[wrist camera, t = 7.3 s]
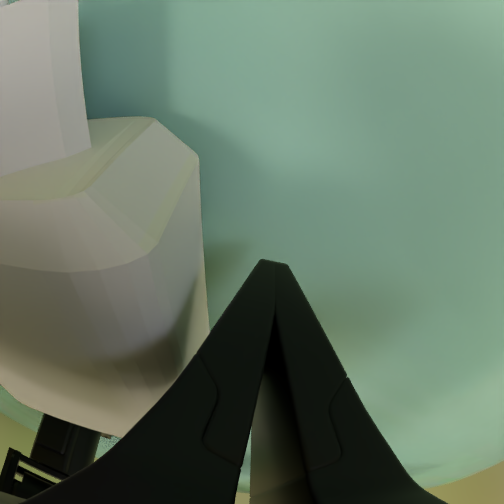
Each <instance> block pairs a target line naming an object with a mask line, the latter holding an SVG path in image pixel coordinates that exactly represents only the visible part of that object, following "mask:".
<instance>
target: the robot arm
mask: <svg viewBox="0 0 504 504" xmlns="http://www.w3.org/2000/svg"><path fill="white" fill-rule="evenodd" d="M346 377H347V374H346V372H345V370H344V368H343V366H342V364H341V362H340V360H339V358H338V357H337V355H336V353H335V351H334V349H333V347H332V345H331V343H330V341H329V340H328V338H327V336H326V334H325V332H324V330H323V328H322V327H321V325H320V323H319V321H318V319H317V317H316V315H315V313H314V312H313V310H312V308H311V306H310V304H309V302H308V301H307V299H306V297H305V295H304V293H303V291H302V290H301V288H300V286H299V284H298V282H297V280H296V279H295V277H294V275H293V273H292V271H291V270H290V268H289V266H288V265H287V264H284V263H279V262H274V261H270V260H265V259H261V260H259V262H258V263H257V265H256V266H255V267H254V269H253V270H252V272H251V273H250V275H249V276H248V278H247V279H246V281H245V282H244V284H243V285H242V287H241V288H240V289H239V291H238V292H237V294H236V295H235V297H234V298H233V300H232V301H231V303H230V304H229V306H228V307H227V308H226V310H225V311H224V313H223V314H222V316H221V317H220V319H219V320H218V322H217V323H216V324H215V326H214V327H213V329H212V330H211V332H210V333H209V335H208V336H207V338H206V339H205V340H204V342H203V343H202V345H201V346H200V348H199V349H198V351H197V353H196V354H195V355H194V356H193V357H192V359H191V360H190V362H189V363H188V365H187V366H186V367H185V369H184V370H183V371H182V373H181V374H180V375H179V377H178V378H177V379H176V381H175V382H174V383H173V384H172V386H171V387H170V388H169V389H168V390H167V391H166V392H165V394H164V395H163V396H162V397H161V398H160V399H159V400H158V402H157V403H156V404H155V405H154V406H153V407H152V408H151V409H150V410H149V411H148V412H147V413H146V414H145V415H144V416H143V417H142V418H141V419H140V420H139V421H138V422H137V423H136V424H135V425H134V426H133V427H132V428H131V429H130V430H129V431H128V432H127V433H126V434H125V435H124V437H123V438H122V439H121V440H120V441H119V442H117V443H116V444H115V445H114V446H113V447H112V448H111V449H110V450H109V451H108V452H106V453H105V454H104V455H103V456H102V457H100V458H99V459H98V460H96V461H95V462H94V458H95V455H96V451H97V447H98V443H99V440H100V436H102V437H105V438H108V439H111V436H112V435H110V434H106V433H102V432H99V431H96V430H92V429H89V428H86V427H83V426H80V425H76V424H73V423H71V422H68V421H65V420H62V419H59V418H56V417H54V416H51V415H48V414H46V413H44V415H43V418H42V420H41V423H40V426H39V429H38V432H37V435H36V438H35V441H34V444H33V448H32V451H31V454H30V457H29V458H28V457H26V456H24V455H23V454H21V452H19V451H17V450H14V449H12V448H10V447H9V450H8V453H7V456H6V460H5V463H4V466H3V469H2V472H1V475H0V504H235V497H236V491H237V486H238V481H239V477H240V472H241V469H240V468H241V467H242V464H243V460H244V456H245V452H246V447H247V443H248V439H249V434H250V430H251V470H250V497H251V498H250V504H448V503H446V502H444V501H442V500H441V499H438V498H437V497H435V496H434V495H432V494H430V493H429V492H427V491H425V490H424V489H423V488H422V487H420V486H419V485H418V484H417V483H416V482H415V481H414V480H413V479H412V478H411V477H410V476H409V474H408V473H407V472H406V470H405V469H404V467H403V466H402V464H401V463H400V461H399V460H398V458H397V457H396V455H395V454H394V452H393V451H392V449H391V448H390V446H389V445H388V443H387V442H386V440H385V439H384V437H383V436H382V434H381V433H380V431H379V430H378V428H377V426H376V425H375V423H374V422H373V420H372V418H371V417H370V415H369V414H368V412H367V410H366V409H365V407H364V405H363V403H362V402H361V400H360V398H359V396H358V394H357V392H356V391H355V389H354V387H353V385H352V383H351V381H350V379H349V378H348V377H347V378H346ZM251 426H252V429H251ZM19 461H21V462H23V463H25V464H27V465H29V466H31V467H33V468H35V469H37V470H39V471H41V472H43V473H45V474H48V475H50V476H52V477H54V478H57V479H59V480H61V482H59V483H54V482H52V481H50V480H48V479H45V478H43V477H41V476H39V475H37V474H35V473H32V472H30V471H29V470H27V469H24V468H23V467H20V466H19ZM93 462H94V463H93ZM16 474H17V475H19V476H21V477H23V478H22V482H20V481H18V480H16V479H15V475H16Z"/></svg>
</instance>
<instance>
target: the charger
mask: <svg viewBox="0 0 504 504" xmlns="http://www.w3.org/2000/svg"><path fill="white" fill-rule="evenodd" d="M209 333H210V328H209V317H208V305H207V292H206V279H205V265H204V250H203V234H202V216H201V195H200V171H199V157H198V154H196V153H195V152H194V151H193V150H192V149H191V148H189V147H188V146H187V145H186V144H185V143H184V142H182V141H181V140H180V139H179V138H178V137H176V136H175V135H174V134H173V133H172V132H171V131H169V130H168V129H167V128H166V127H165V126H163V125H162V124H161V123H160V122H159V121H157V120H156V119H155V118H152V117H141V116H136V117H115V118H101V119H90V120H87V114H86V107H85V99H84V90H83V81H82V70H81V58H80V43H79V20H78V0H20V1H17V2H14V3H11V4H8V0H0V384H1V385H2V386H3V387H4V388H5V389H6V390H7V391H8V392H9V393H10V394H11V395H12V396H13V397H14V398H16V399H17V400H18V401H19V402H21V403H23V404H24V405H26V406H28V407H31V408H33V409H35V410H38V411H41V412H43V413H46V414H48V415H51V416H54V417H56V418H59V419H62V420H65V421H68V422H71V423H73V424H76V425H80V426H83V427H86V428H89V429H92V430H96V431H99V432H102V433H106V434H110V435H113V436H117V437H121V438H123V437H124V435H125V434H126V433H127V432H128V431H129V430H130V429H131V428H132V427H133V426H134V425H135V424H136V423H137V422H138V421H139V420H140V419H141V418H142V417H143V416H144V415H145V414H146V413H147V412H148V411H149V410H150V409H151V408H152V407H153V406H154V405H155V404H156V403H157V402H158V400H159V399H160V398H161V397H162V396H163V395H164V394H165V392H166V391H167V390H168V389H169V388H170V387H171V386H172V384H173V383H174V382H175V381H176V379H177V378H178V377H179V375H180V374H181V373H182V371H183V370H184V369H185V367H186V366H187V365H188V363H189V362H190V360H191V359H192V357H193V356H194V355H195V354H196V353H197V351H198V349H199V348H200V346H201V345H202V343H203V342H204V340H205V339H206V338H207V336H208V335H209Z"/></svg>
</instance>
